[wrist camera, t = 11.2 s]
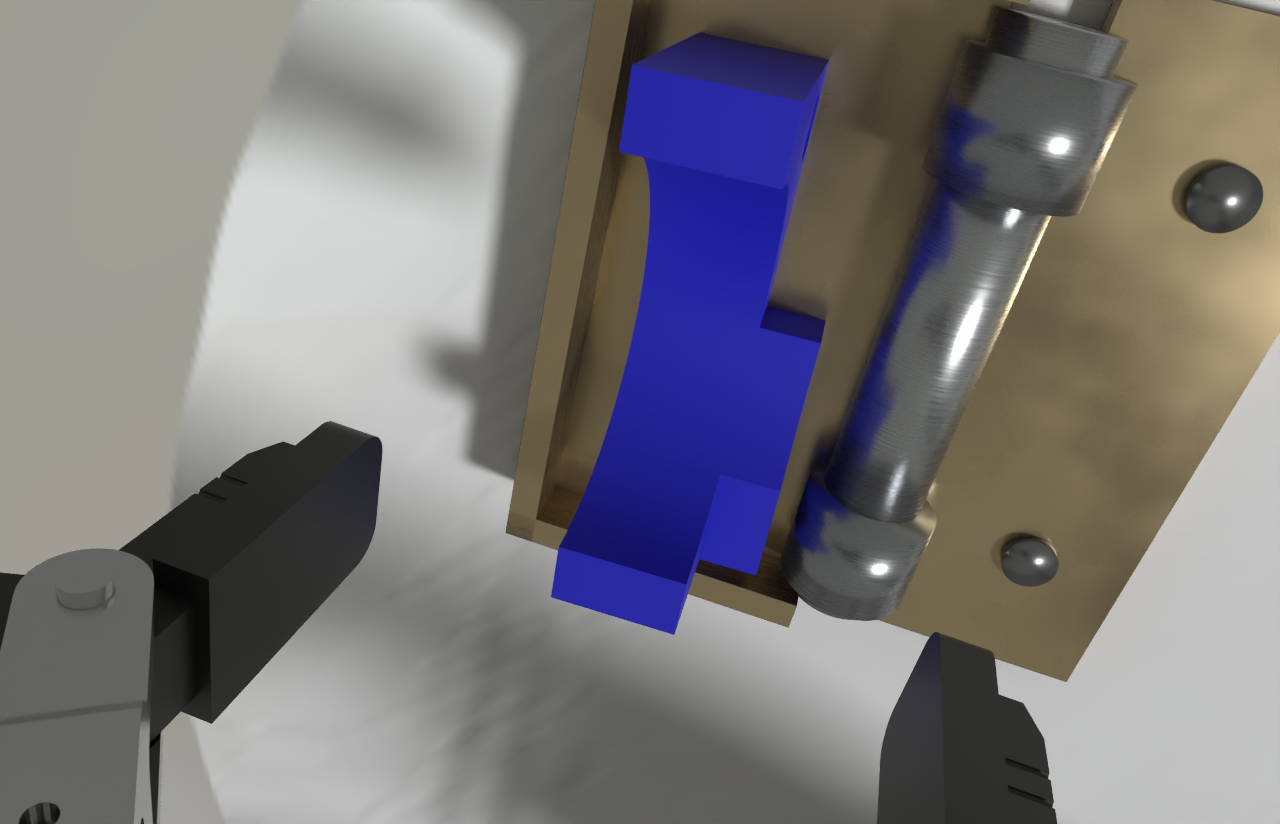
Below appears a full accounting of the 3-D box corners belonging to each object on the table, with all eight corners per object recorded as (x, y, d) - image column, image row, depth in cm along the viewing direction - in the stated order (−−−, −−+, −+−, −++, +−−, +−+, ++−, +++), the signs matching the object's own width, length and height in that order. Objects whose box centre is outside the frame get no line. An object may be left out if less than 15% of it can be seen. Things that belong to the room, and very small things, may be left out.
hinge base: (1427, 52, 18) (1526, 74, 16) (1062, 662, 27) (1081, 752, 24) (648, -135, 20) (605, -146, 17) (534, 489, 29) (492, 552, 26)
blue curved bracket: (770, 512, 26) (737, 654, 21) (619, 469, 27) (551, 596, 22) (896, 73, 20) (892, 121, 15) (699, 32, 21) (631, 64, 16)
